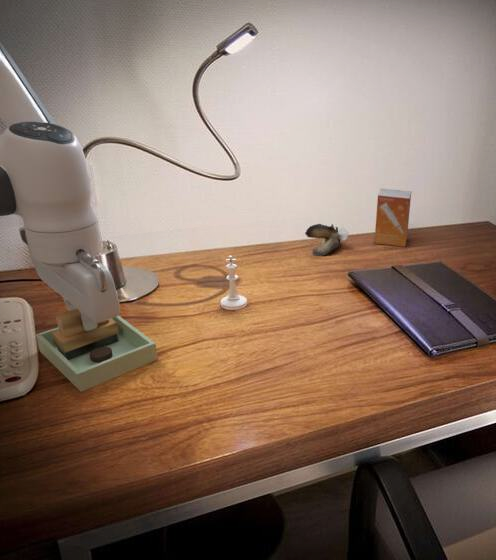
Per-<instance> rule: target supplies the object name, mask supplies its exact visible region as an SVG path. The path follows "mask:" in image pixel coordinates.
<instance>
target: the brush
mask: <svg viewBox="0 0 496 560" xmlns="http://www.w3.org/2000/svg"><path fill="white" fill-rule="evenodd" d="M79 318H81V312H80V311H79V310H78V309H74V310H71V311H69V310H68V311H66V312H61V313H59V314H56V315H55V320H56V324H57V327H58V329H59V330H58V331H55V332H52V336H53V340H54V344H55V345H56V346H57V348H58V351H59V352H60V353H61V354H62V355H63V356H64V357H65V358H66V359H67V360H69V359H72V358H75V357H77V356H80V355H82V354H85V353H88V352H90V351H92V350H93V349H95V348H98V347H104V346H106V345H109V344H111V343H114V342H117V341H118V336H117V333H119V332H118V327H117V322H115V321H114V320H113V319H110V320H107V321H104V322H100V323H97V328H95V329H93V330H90V331H86V330H85V329H84V328H83V327H81V323H80V319H79Z"/></svg>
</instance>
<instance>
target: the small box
mask: <svg viewBox="0 0 496 560" xmlns="http://www.w3.org/2000/svg"><path fill="white" fill-rule="evenodd" d="M411 200H412V191H410V190H400V189H393V188H392V189H390V188H388V189H387V188H379V192H378V194H377V200H376V201H377V203H376V215H375V230H374V231H375V233H374V244H376V245H386V246H393V247H394V246H395V247H401V248H402V247H403V248H405V247H406V245H407V240H408V231H409V222H410V211H411V210H410V209H411Z"/></svg>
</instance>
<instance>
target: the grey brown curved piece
mask: <svg viewBox="0 0 496 560" xmlns="http://www.w3.org/2000/svg"><path fill="white" fill-rule="evenodd" d="M304 234H305V236H306V237H307V238H311V239H312V238H313V239H324V240H323V241H322V242H321V244H320V245H319V246H317V247H316V248H314V249H312V252H311V253H312V255H313V256H326V255H329V253H331V252H332V251H333V250H335V249H337V248H338V247H339V246H341V245H342V244H341V241H342V242H345V241H346V240H347V239H348V238H349V231H348V230H347V229H346V228H344V227H341V228H340V229H339V227H338V226H334V224H333V223H331V225H330V226H329V225H326V224H325V225H324V224H321V223H316V224H313V225H310V226H309V227H308V228H306V231H305V232H304Z"/></svg>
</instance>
